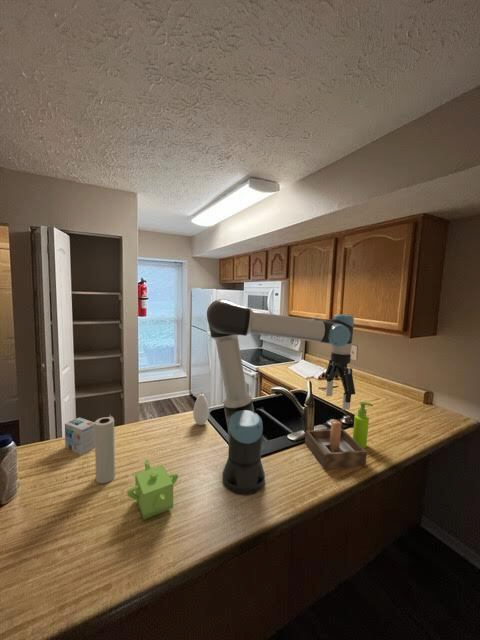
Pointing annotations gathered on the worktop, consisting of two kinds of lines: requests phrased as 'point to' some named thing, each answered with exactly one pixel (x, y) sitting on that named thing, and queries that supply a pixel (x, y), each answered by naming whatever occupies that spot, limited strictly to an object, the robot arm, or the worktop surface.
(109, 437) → the paper towel roll
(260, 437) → the robot arm
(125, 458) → the worktop surface
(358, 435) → the soap dispenser
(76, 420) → the light bulb box
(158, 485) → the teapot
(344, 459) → the box
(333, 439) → the peg
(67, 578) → the worktop surface
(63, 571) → the worktop surface
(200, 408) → the sauce bottle
